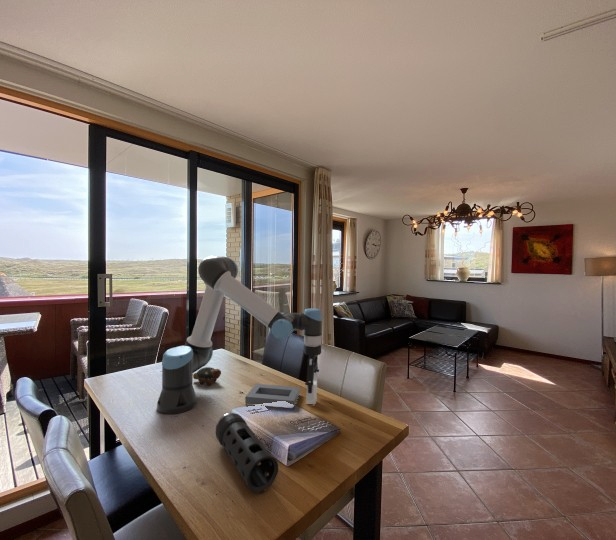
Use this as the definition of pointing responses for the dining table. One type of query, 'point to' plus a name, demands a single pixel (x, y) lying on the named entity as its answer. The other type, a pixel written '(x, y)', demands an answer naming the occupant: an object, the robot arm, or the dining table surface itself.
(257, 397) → the block
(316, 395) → the plug
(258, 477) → the muzzle brake
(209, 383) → the decorative turtle
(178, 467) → the dining table surface
